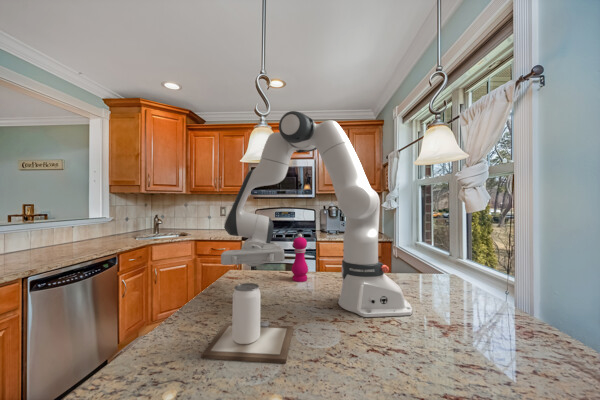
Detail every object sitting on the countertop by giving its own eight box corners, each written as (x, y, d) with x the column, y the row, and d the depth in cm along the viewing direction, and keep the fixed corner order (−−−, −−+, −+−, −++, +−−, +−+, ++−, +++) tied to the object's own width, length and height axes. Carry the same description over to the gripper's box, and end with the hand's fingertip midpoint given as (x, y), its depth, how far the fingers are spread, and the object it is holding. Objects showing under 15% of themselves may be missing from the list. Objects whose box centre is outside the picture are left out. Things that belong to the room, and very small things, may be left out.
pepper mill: (308, 277, 111) (308, 232, 111) (307, 282, 104) (307, 234, 104) (292, 277, 112) (292, 232, 112) (290, 282, 105) (290, 234, 105)
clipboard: (293, 328, 65) (293, 323, 65) (285, 363, 51) (285, 355, 51) (226, 325, 67) (226, 320, 67) (201, 358, 52) (201, 350, 52)
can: (232, 332, 61) (233, 283, 61) (259, 329, 62) (259, 281, 63) (231, 347, 55) (231, 292, 55) (260, 343, 56) (261, 290, 56)
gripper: (222, 245, 86) (217, 252, 73) (281, 242, 90) (286, 248, 77) (223, 263, 86) (217, 274, 73) (281, 260, 90) (286, 269, 76)
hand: (253, 260), depth 75 cm, fingers open, 8 cm apart
